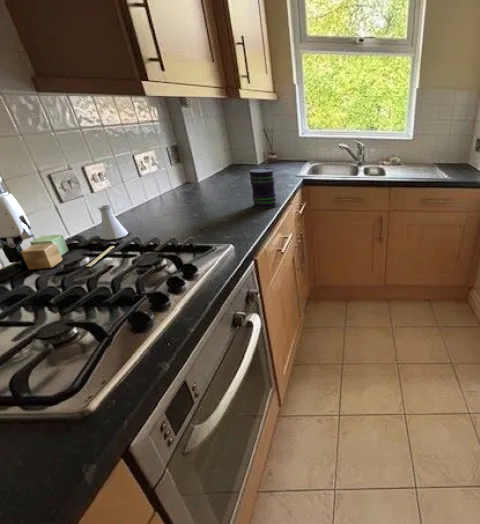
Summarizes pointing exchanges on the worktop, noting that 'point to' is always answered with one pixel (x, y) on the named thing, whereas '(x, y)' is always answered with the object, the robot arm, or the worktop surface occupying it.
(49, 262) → the beech block
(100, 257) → the tape strip
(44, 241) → the sage block
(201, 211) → the worktop surface
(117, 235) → the flask
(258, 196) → the storage jar
